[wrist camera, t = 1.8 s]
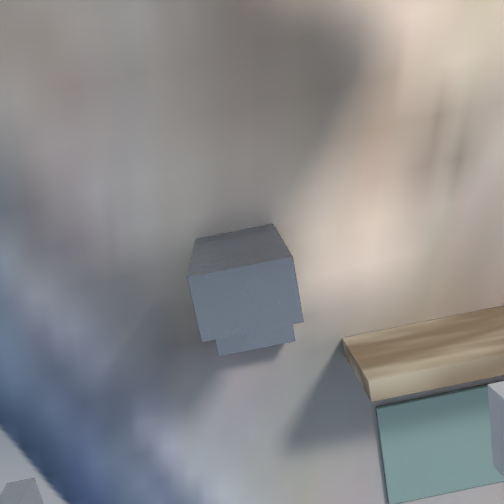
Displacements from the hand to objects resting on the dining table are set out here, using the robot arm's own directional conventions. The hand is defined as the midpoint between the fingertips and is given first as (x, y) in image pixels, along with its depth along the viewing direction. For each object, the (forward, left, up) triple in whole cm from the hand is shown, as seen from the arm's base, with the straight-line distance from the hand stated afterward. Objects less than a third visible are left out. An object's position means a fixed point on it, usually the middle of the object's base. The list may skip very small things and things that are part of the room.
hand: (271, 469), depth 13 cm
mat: (+20, +16, -24) cm, 35 cm away
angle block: (+2, 0, -24) cm, 24 cm away
